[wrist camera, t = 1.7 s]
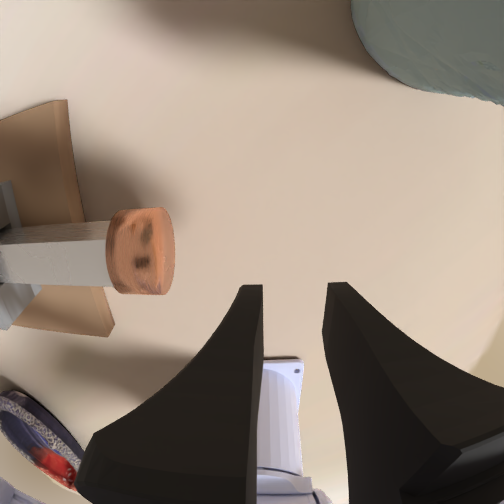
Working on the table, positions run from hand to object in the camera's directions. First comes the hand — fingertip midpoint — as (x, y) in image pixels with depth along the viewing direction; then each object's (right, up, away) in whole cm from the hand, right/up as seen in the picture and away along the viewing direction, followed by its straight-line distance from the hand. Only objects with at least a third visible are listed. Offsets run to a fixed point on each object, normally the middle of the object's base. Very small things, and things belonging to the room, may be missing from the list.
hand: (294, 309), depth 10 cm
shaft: (-14, +3, +6) cm, 15 cm away
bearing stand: (-21, +3, +8) cm, 23 cm away
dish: (-32, -27, +24) cm, 49 cm away
